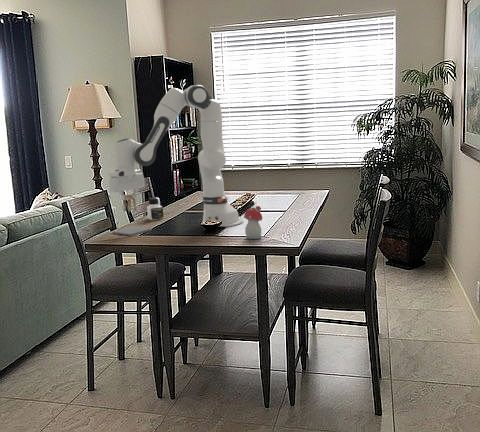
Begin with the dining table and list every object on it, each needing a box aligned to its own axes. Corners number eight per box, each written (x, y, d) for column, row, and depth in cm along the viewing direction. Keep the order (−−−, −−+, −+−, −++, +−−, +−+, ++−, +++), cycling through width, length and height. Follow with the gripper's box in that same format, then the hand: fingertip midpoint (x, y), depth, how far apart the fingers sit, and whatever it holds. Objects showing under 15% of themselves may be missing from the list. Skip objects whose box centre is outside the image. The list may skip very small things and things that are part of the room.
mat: (151, 230, 283) (151, 228, 283) (130, 236, 272) (130, 234, 272) (133, 228, 292) (133, 226, 292) (112, 233, 281) (112, 231, 281)
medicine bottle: (151, 220, 309) (149, 199, 307) (147, 218, 316) (145, 198, 313) (163, 218, 313) (162, 197, 310) (159, 217, 319) (157, 196, 317)
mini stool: (130, 209, 284) (129, 193, 282) (137, 210, 280) (136, 194, 279) (122, 211, 280) (120, 195, 278) (129, 212, 276) (127, 196, 275)
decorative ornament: (266, 238, 251) (264, 205, 248) (254, 240, 247) (252, 207, 244) (253, 235, 258) (251, 203, 256) (242, 237, 255) (240, 205, 252)
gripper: (138, 168, 286) (140, 195, 289) (106, 173, 271) (108, 201, 273) (146, 169, 282) (148, 196, 285) (114, 174, 267) (117, 202, 269)
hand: (128, 198), depth 279 cm, fingers closed on mini stool, 5 cm apart
